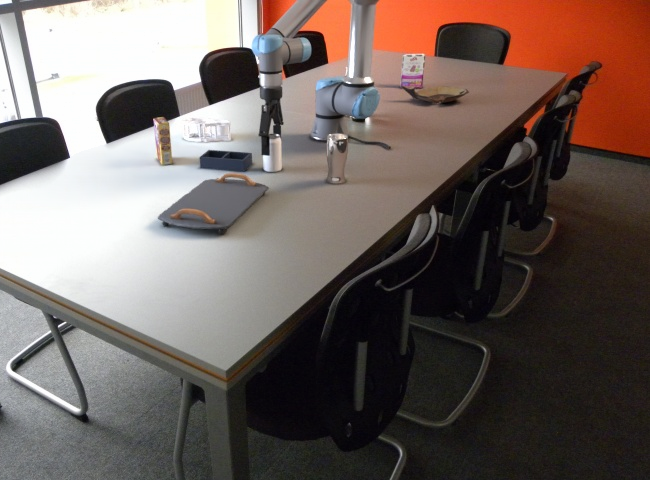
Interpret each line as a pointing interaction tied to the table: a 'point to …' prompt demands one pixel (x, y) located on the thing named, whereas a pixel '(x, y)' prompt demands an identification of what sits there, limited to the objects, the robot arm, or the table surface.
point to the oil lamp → (437, 93)
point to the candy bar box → (412, 70)
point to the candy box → (163, 140)
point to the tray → (226, 160)
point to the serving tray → (214, 203)
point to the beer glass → (336, 157)
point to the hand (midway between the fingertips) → (271, 149)
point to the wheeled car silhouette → (201, 127)
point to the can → (273, 155)
